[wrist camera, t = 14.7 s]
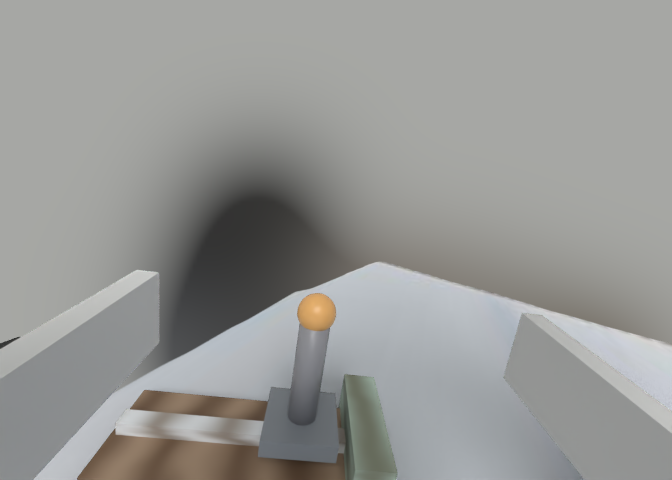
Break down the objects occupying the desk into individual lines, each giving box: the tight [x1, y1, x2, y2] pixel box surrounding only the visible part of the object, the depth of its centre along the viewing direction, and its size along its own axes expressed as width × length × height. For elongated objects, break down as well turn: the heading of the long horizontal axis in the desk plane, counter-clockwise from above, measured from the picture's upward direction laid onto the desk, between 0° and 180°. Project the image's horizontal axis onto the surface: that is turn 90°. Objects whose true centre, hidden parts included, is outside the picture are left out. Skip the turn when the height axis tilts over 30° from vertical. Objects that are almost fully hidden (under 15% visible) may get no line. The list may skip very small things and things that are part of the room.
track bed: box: [77, 374, 397, 480], centre depth 37 cm, size 30×14×6 cm, turn 93°
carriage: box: [258, 293, 339, 463], centre depth 36 cm, size 8×8×18 cm
